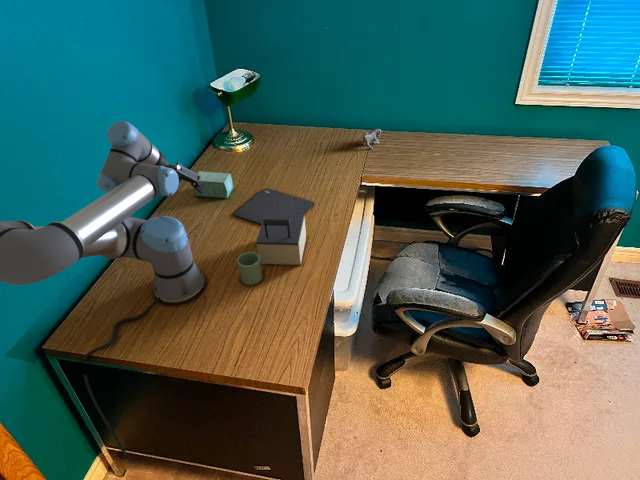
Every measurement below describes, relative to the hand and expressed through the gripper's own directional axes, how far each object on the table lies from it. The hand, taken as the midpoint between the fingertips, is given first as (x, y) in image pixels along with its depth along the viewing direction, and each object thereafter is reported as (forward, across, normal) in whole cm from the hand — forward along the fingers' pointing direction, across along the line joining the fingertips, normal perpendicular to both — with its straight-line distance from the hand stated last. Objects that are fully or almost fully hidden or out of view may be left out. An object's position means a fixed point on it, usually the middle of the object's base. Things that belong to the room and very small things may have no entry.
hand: (183, 188), depth 164 cm
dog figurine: (+56, -51, -50) cm, 91 cm away
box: (+26, +3, -10) cm, 27 cm away
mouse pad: (+23, -24, -3) cm, 34 cm away
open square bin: (+12, -35, +16) cm, 40 cm away
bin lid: (+4, -36, +11) cm, 38 cm away
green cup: (+3, -29, +28) cm, 41 cm away
